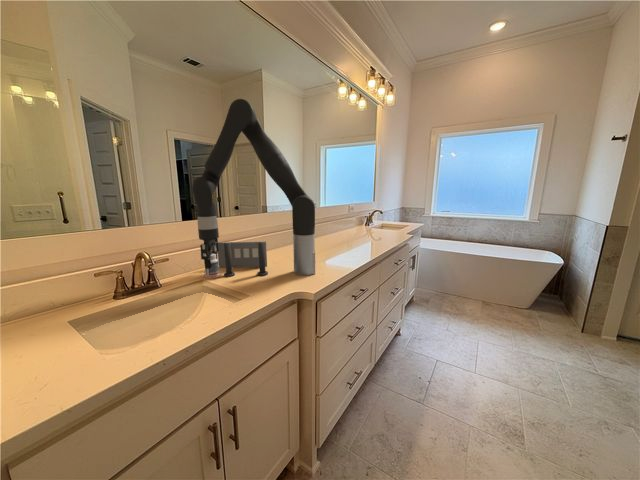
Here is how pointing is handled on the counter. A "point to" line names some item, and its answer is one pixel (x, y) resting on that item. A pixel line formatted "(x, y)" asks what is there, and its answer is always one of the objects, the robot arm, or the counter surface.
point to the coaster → (212, 277)
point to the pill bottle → (213, 267)
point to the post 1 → (228, 261)
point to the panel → (241, 254)
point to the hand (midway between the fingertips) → (211, 265)
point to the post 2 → (262, 260)
